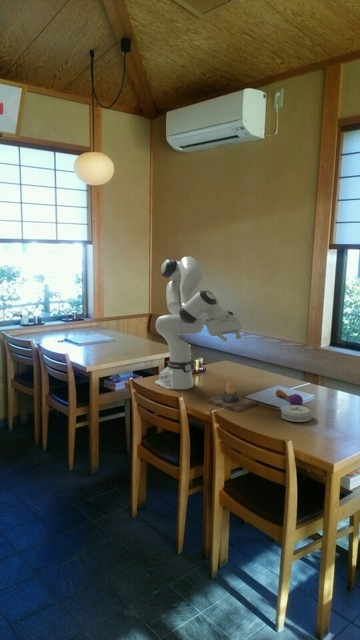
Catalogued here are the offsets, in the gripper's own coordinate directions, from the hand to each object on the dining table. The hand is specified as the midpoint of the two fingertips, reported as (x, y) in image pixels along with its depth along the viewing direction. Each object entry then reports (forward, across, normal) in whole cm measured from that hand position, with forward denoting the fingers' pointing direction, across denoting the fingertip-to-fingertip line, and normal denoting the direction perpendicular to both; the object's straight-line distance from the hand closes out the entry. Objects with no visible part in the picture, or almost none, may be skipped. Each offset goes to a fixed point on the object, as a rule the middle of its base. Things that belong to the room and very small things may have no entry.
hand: (232, 339), depth 223 cm
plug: (+23, -6, +16) cm, 29 cm away
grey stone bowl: (+23, -6, +16) cm, 29 cm away
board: (+25, -6, +17) cm, 31 cm away
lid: (+48, 0, -6) cm, 48 cm away
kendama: (+36, +16, +6) cm, 40 cm away
